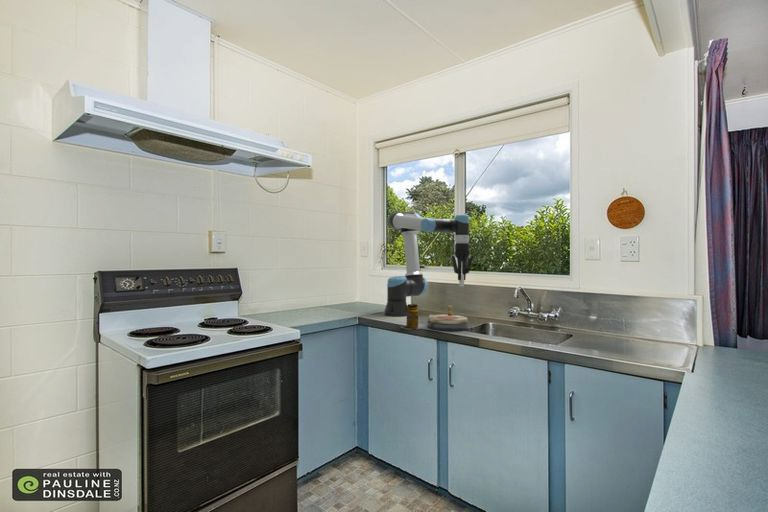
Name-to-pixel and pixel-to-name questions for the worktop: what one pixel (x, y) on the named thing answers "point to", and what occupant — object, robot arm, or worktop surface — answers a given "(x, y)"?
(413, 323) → the condiment
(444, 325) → the turntable base
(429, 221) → the robot arm
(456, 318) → the turntable
